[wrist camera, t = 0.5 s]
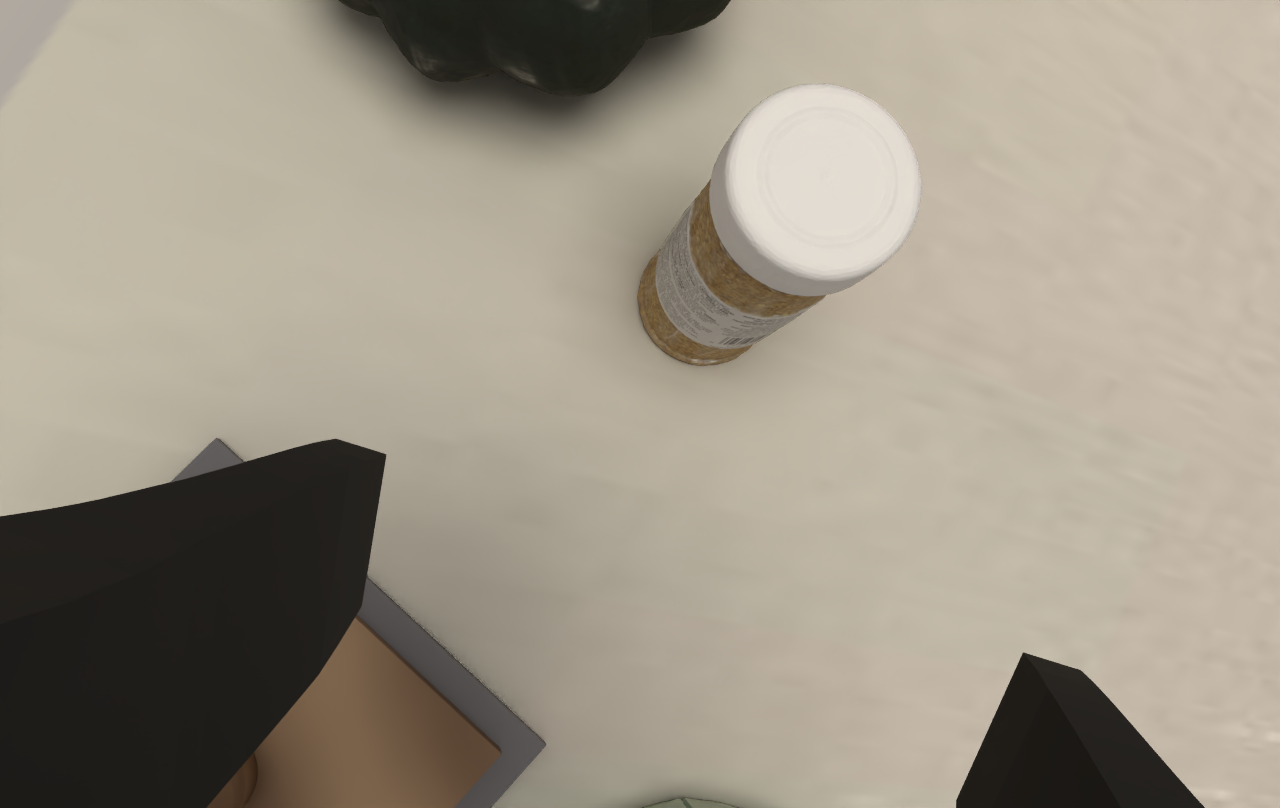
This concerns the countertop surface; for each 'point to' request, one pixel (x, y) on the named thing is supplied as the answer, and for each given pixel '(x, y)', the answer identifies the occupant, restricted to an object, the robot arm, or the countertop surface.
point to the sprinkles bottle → (782, 222)
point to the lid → (364, 740)
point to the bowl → (690, 804)
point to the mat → (429, 669)
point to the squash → (533, 36)
